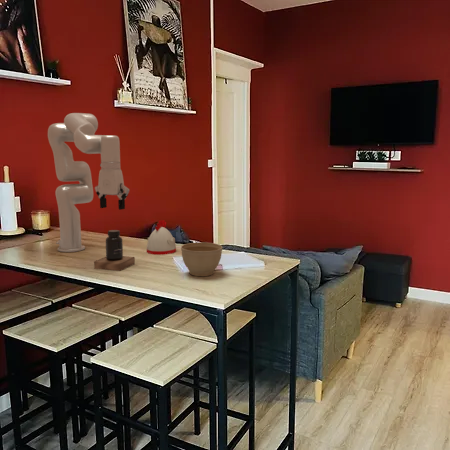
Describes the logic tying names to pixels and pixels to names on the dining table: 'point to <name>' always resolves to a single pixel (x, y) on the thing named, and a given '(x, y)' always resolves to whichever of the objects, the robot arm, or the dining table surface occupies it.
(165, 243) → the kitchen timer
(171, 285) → the dining table surface
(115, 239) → the supplement bottle
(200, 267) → the planter bowl
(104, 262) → the base block
